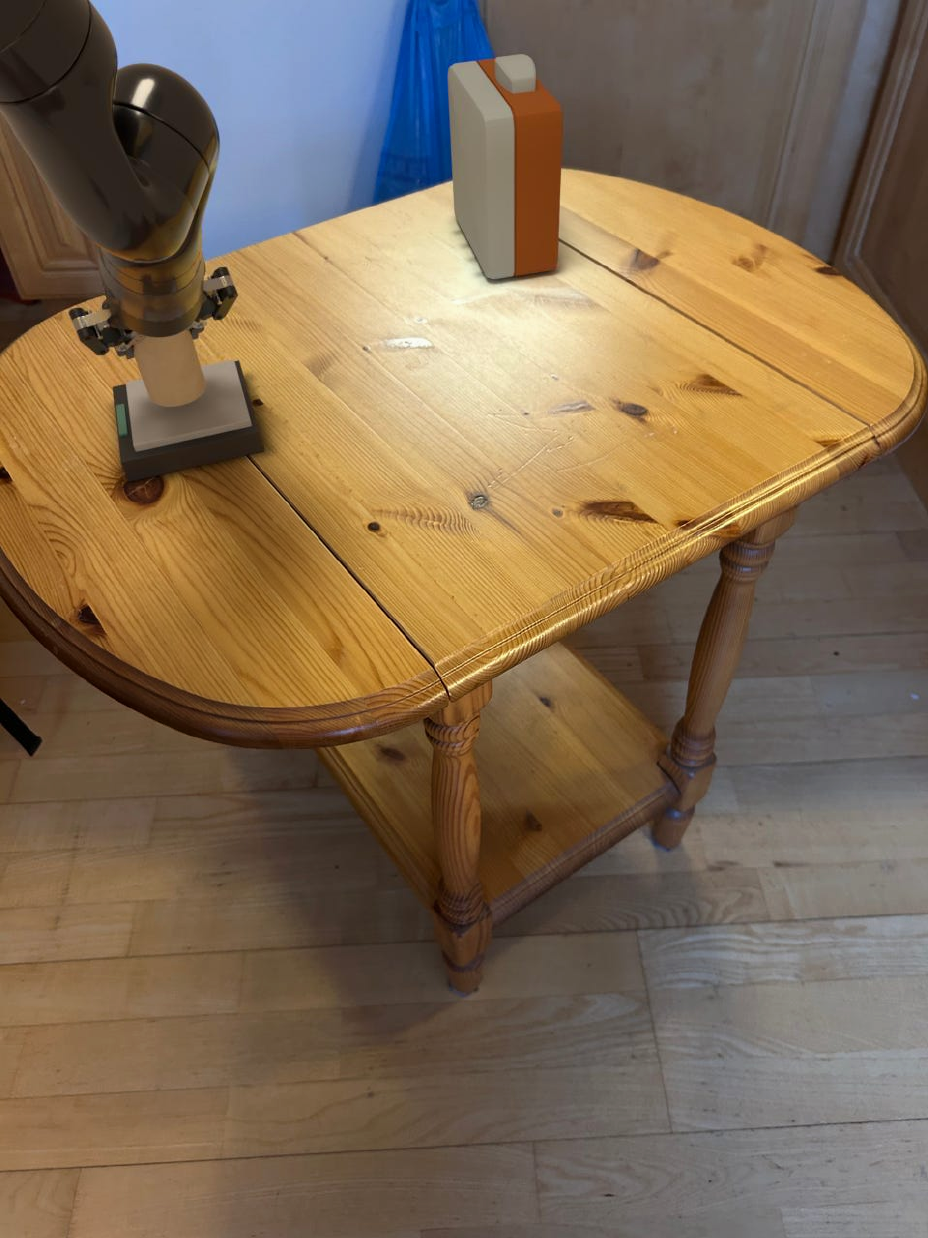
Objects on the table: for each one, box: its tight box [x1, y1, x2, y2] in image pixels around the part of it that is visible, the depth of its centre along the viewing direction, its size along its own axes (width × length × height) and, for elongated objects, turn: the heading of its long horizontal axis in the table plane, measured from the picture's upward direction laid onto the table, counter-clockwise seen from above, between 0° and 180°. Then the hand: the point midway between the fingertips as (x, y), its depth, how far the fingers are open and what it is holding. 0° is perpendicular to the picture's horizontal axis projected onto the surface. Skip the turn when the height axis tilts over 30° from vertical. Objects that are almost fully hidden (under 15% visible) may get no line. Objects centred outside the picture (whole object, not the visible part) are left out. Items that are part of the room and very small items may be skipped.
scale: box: [112, 359, 265, 483], centre depth 89 cm, size 13×13×3 cm
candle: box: [132, 329, 206, 407], centre depth 83 cm, size 6×6×10 cm
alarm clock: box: [447, 53, 564, 280], centre depth 105 cm, size 18×9×21 cm, turn 13°
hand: (158, 338), depth 85 cm, fingers closed on candle, 5 cm apart
